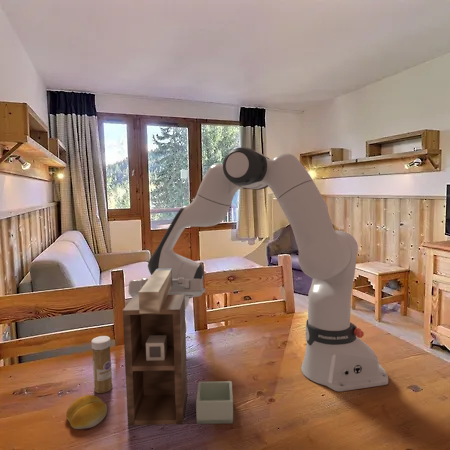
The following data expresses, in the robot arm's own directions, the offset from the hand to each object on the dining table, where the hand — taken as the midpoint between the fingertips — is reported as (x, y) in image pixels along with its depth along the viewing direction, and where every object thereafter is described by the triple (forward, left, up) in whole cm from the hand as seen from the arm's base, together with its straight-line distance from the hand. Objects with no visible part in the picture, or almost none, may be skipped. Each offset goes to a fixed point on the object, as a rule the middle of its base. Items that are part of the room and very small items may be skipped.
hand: (162, 281), depth 88 cm
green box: (-13, +12, -28) cm, 33 cm away
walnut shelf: (0, +11, -28) cm, 30 cm away
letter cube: (0, +12, -14) cm, 18 cm away
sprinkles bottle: (+16, +2, -28) cm, 32 cm away
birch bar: (0, +8, -2) cm, 9 cm away
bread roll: (+16, +13, -28) cm, 35 cm away
